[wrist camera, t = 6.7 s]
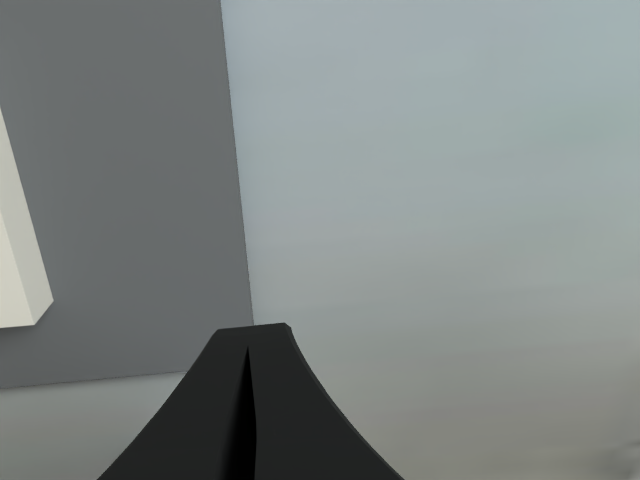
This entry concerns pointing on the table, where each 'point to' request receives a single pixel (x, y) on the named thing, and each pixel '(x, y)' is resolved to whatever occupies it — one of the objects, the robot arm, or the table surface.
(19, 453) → the table surface
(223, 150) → the desk mat
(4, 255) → the card box
